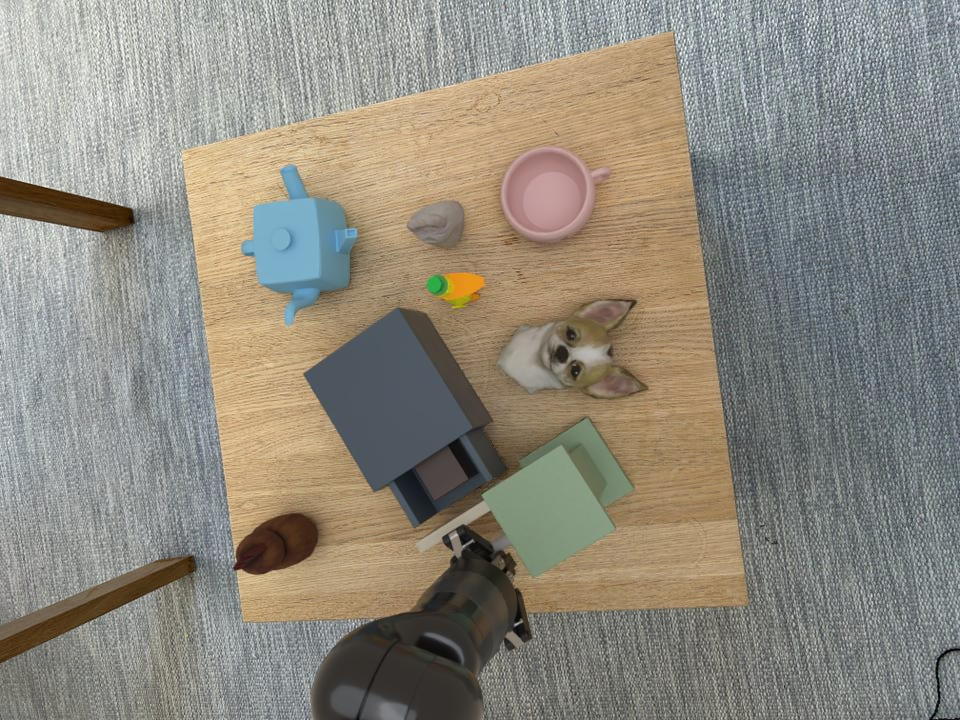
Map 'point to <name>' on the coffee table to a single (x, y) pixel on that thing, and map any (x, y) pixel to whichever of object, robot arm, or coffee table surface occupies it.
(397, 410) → the cabinet
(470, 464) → the block
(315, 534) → the wooden figurine
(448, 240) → the fossil
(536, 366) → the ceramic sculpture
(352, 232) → the teapot
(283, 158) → the coffee table surface
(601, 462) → the stand
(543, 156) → the mug
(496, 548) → the drawer
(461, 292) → the toy figure
